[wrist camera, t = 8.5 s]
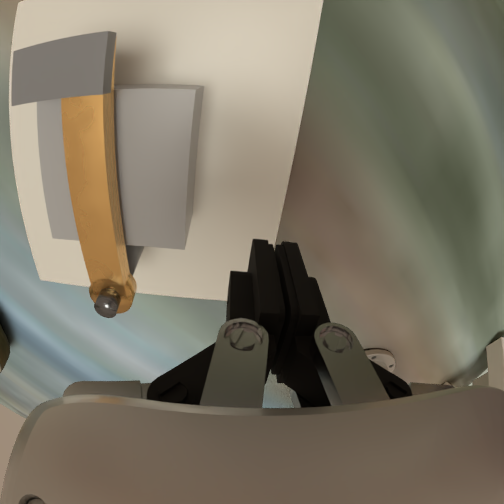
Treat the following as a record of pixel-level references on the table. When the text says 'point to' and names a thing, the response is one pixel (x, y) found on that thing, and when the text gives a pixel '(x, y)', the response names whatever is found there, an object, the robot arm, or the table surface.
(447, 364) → the table surface
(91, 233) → the bar
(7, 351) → the statue
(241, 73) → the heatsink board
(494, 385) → the pile of blocks
